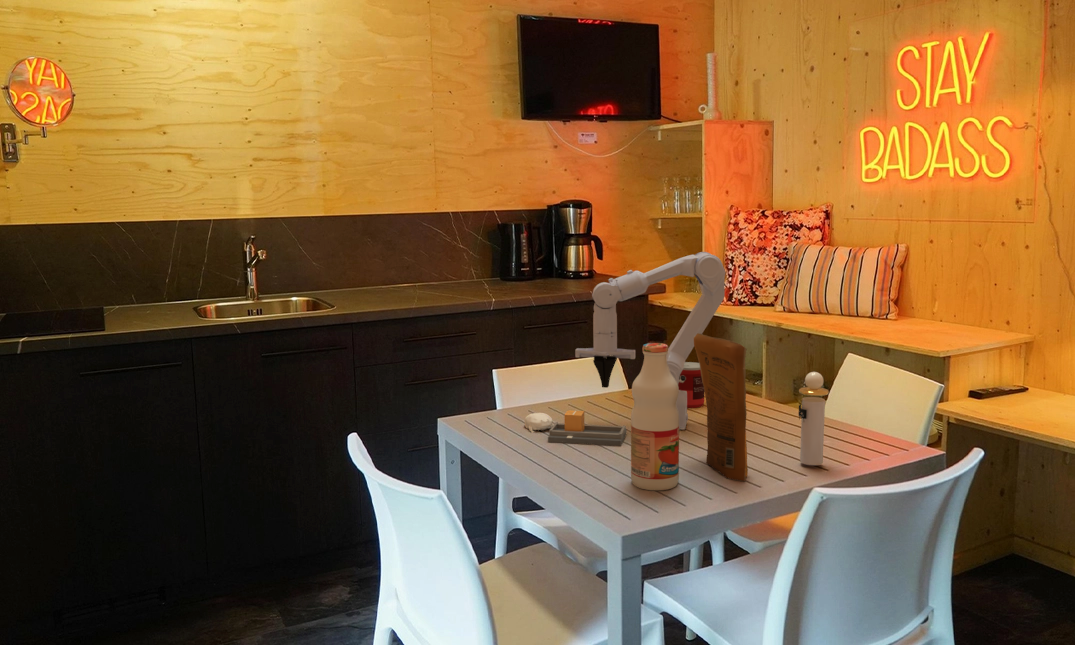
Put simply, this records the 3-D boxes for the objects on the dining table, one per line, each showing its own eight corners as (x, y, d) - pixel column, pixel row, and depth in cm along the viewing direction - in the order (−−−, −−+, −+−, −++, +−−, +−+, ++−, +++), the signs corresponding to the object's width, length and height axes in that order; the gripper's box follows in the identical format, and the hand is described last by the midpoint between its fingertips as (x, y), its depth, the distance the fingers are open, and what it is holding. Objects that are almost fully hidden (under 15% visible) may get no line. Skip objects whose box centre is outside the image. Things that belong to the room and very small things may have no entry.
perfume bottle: (821, 460, 179) (824, 368, 176) (829, 469, 173) (833, 374, 170) (793, 460, 179) (796, 369, 176) (801, 469, 174) (804, 375, 171)
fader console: (626, 433, 201) (626, 423, 201) (620, 446, 192) (620, 435, 191) (557, 430, 205) (557, 420, 205) (548, 442, 196) (547, 432, 195)
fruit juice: (637, 473, 173) (637, 339, 169) (683, 478, 170) (684, 341, 166) (625, 488, 165) (625, 348, 160) (672, 494, 161) (674, 350, 157)
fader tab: (584, 429, 200) (584, 410, 200) (581, 433, 197) (581, 415, 196) (568, 428, 201) (567, 410, 201) (564, 432, 198) (564, 414, 197)
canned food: (673, 400, 231) (674, 361, 230) (703, 401, 230) (704, 362, 229) (674, 408, 224) (674, 367, 222) (705, 408, 223) (705, 368, 221)
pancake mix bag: (727, 486, 165) (730, 346, 161) (689, 456, 183) (690, 330, 179) (759, 483, 166) (762, 343, 162) (718, 454, 185) (720, 328, 180)
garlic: (559, 431, 205) (558, 416, 205) (533, 435, 202) (533, 419, 202) (545, 423, 212) (544, 408, 212) (520, 426, 210) (520, 412, 209)
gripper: (572, 334, 203) (573, 389, 205) (632, 335, 199) (632, 391, 201) (578, 329, 209) (578, 382, 212) (636, 330, 206) (636, 384, 208)
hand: (605, 386), depth 207 cm, fingers closed
